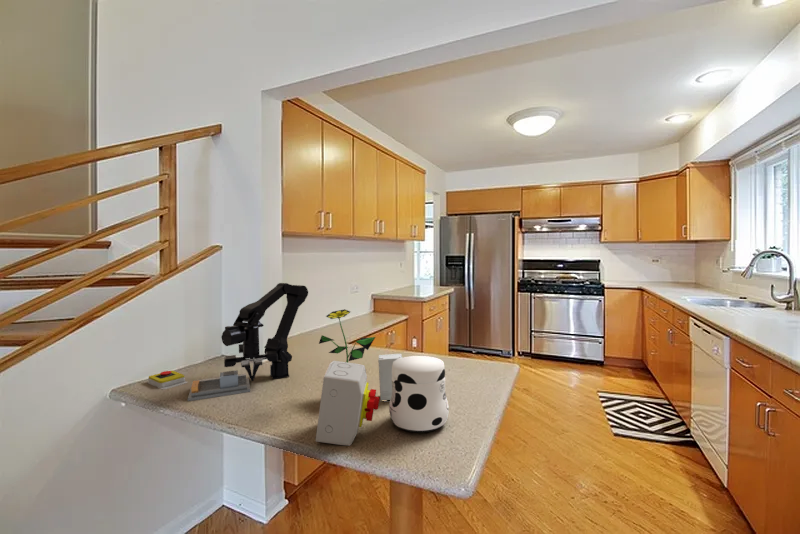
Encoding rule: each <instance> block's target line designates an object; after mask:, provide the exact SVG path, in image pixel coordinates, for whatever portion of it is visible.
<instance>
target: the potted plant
mask: <svg viewBox="0 0 800 534" xmlns="http://www.w3.org/2000/svg"><path fill="white" fill-rule="evenodd" d="M350 313H351V311H350V310H348V309H340V310H335V311H331V312H330V313H328V314H327V315H325V317H326V318H328V319H330V320H333V319H338V321H339V326H340V328H341V332H342V333H341V334H342V336H343V340H344V344H345V345H344V346H339V345H338V344H337V343H336V342H335V341H334V339H333V338H330V337H327V336H325V335H321V336H320V339H319V341H318V344H325V343H327V342H332V344H334V345H335V346H336V347H335V348H333V349H332V350H330V351H329V352H328V354H336V355H337V354H340V353H341V352H344V350H345V353H346V355H345V356H346V362H347V363H349V362H351V361H354V360H359V359H363V357H364V355H365V354H364V353H365V350H367V351H368V350H369V349H370V347H371V346H372V344H373V342H374V340H375V339H376V336H373V337H372V336H371V337H361V338H360V339H357V340H355V344H354V345H353V347H352V348H351V350H350V352H349V351H348V349H349V347H348V345H347V340H346V335H345V334H344V329H343V326H342V322H341V318H345V317H346V316H348V315H349V314H350ZM356 344H358V345H360V347H358V348H355V346H356ZM354 348H355V349H354ZM365 370H366V371H367V369H366V368H365Z"/></svg>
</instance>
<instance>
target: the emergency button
mask: <svg viewBox="0 0 800 534" xmlns="http://www.w3.org/2000/svg"><path fill="white" fill-rule="evenodd" d="M146 383H147V384H149V385H151V386H153V387H156V388H158V389H160V390H168V389H171V388H174V387H179V386H182V385H186V384H188V383H189V382H188V381H186V378H185V374H182V373H180V372H178V371H175V370H165V371H161V372H160V373H156V374H151V375H149V376H148V381H146Z"/></svg>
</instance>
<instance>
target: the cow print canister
mask: <svg viewBox="0 0 800 534" xmlns="http://www.w3.org/2000/svg"><path fill="white" fill-rule="evenodd" d="M444 362H445V361H443V360H442V359H440V358H437V357H435V356H434V357H433V356H428V355H426V356H425V355H410V356H404V357H403V356H402V358H399V359H397V360H395V361H394V362H393V365H392V395H391V399H390V401H389V403H388V404H389V405H388V407H389V408H388V410H389V417H390V421H391V422H392V423H393V425H394V426H396V427H397V428H399V429H400V430H403V431H405V432H410V433H411V432H412V433H429V432H432V431H433V432H434V431H436V430H439V429H440V428H442V427H443V426H444V425H445V424H446V422H447V421H448V418H449V410H450V409H449V408H450V407H449V400H448V398H447V393H446V369H445V363H444Z"/></svg>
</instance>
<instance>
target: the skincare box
mask: <svg viewBox="0 0 800 534" xmlns="http://www.w3.org/2000/svg"><path fill="white" fill-rule="evenodd" d="M399 358H403V355H402V353H393V354H392V353H390V354H389V353H388V354H378V359H377V360H378V361H377V362H378V376H379V379H378V380H379V395H380V396H379V397H380V399H379V400H380V401H381V400H390V399H391V395H392V365H393V362H394V361H395V360H397V359H399Z"/></svg>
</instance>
